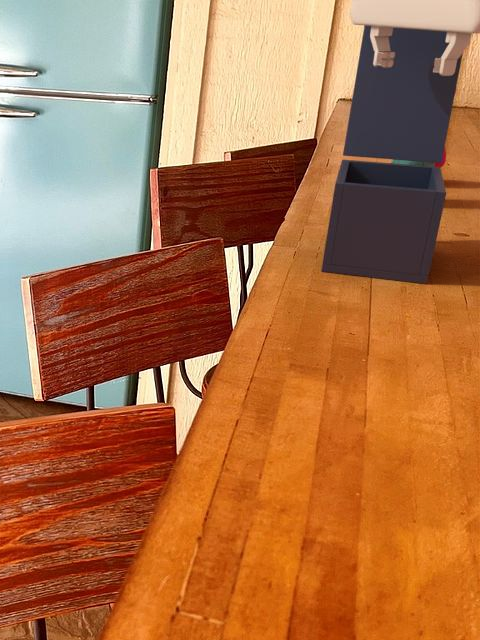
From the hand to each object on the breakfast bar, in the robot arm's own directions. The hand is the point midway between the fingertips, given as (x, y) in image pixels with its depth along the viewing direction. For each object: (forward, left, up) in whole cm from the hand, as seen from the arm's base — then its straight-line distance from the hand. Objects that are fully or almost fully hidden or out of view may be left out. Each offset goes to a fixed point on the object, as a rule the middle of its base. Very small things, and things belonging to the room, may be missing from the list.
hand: (411, 71), depth 103 cm
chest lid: (-2, -10, -4) cm, 11 cm away
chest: (0, -2, -23) cm, 23 cm away
